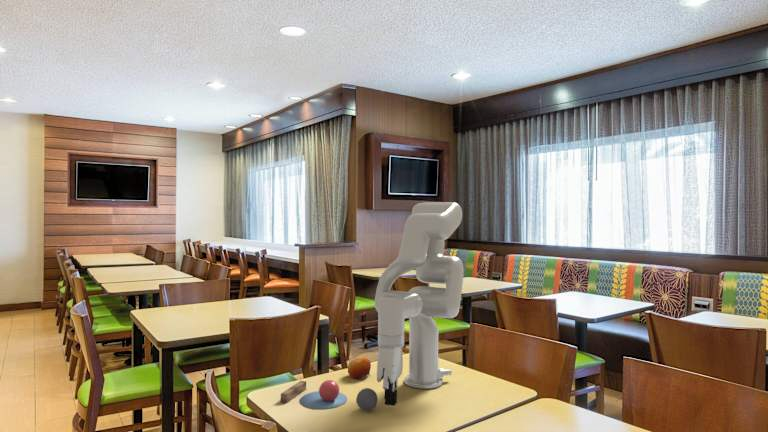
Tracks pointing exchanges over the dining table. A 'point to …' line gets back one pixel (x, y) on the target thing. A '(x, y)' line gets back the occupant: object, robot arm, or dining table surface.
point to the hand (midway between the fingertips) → (390, 404)
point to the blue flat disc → (321, 401)
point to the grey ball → (367, 399)
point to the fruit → (359, 367)
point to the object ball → (329, 390)
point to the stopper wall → (293, 391)
